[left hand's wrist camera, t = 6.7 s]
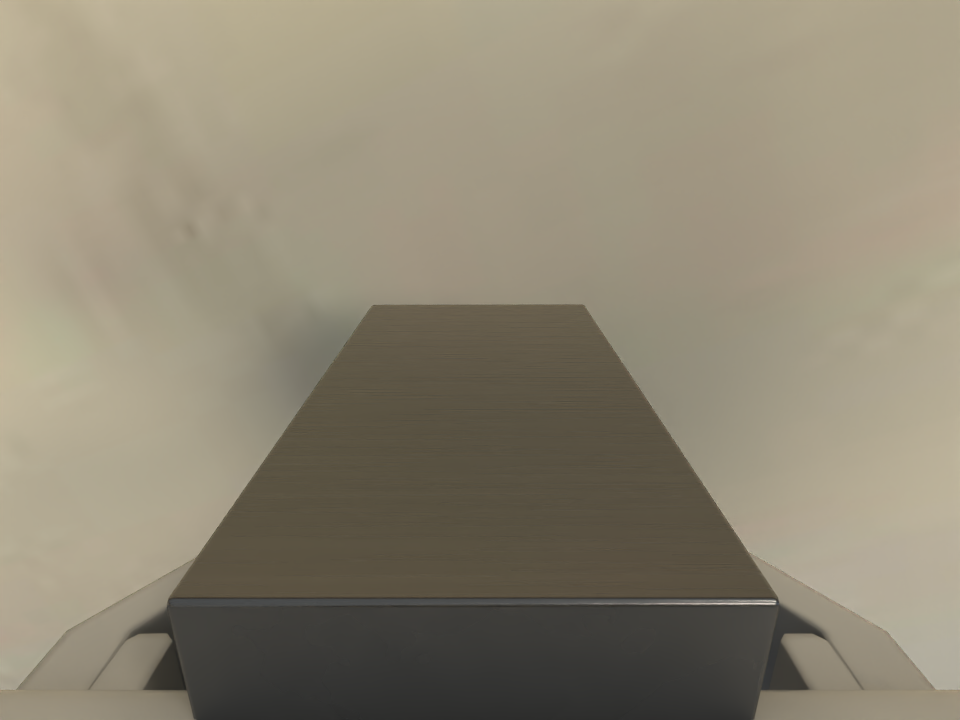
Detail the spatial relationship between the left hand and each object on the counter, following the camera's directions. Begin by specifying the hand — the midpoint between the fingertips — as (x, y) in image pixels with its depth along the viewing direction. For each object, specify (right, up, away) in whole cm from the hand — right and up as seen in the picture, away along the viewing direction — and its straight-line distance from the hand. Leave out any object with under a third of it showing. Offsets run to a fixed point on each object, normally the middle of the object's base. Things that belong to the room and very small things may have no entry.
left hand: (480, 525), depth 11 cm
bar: (0, -8, +8) cm, 11 cm away
